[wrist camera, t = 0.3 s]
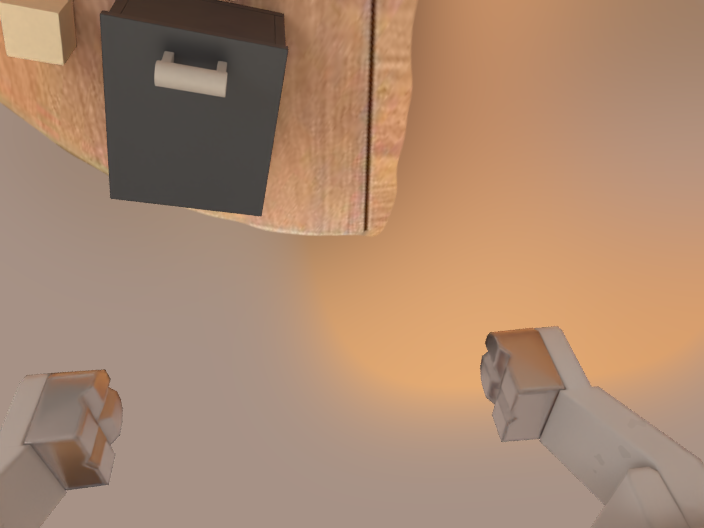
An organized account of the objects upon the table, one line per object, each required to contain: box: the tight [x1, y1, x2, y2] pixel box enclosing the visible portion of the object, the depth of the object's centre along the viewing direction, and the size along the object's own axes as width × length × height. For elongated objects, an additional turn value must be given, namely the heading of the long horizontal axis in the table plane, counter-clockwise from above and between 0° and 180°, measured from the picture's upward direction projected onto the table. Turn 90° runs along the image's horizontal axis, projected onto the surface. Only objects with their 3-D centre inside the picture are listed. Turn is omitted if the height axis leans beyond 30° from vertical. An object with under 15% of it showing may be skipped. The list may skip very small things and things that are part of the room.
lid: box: [100, 11, 288, 216], centre depth 46 cm, size 17×14×5 cm
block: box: [0, 0, 77, 65], centre depth 48 cm, size 4×4×4 cm
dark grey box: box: [109, 0, 286, 46], centre depth 52 cm, size 16×14×10 cm
